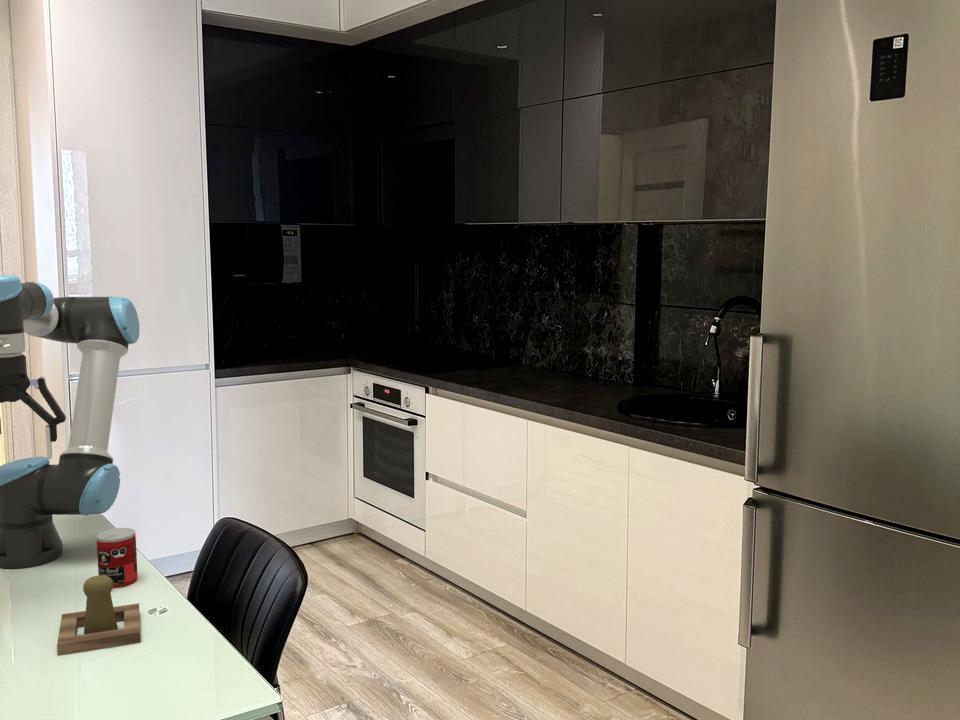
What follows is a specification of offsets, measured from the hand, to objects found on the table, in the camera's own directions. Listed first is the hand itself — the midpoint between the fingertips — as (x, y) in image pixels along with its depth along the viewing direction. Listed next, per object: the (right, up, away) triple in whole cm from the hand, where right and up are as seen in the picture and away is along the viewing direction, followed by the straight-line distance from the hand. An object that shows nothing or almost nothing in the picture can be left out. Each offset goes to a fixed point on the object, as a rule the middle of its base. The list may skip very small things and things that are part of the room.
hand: (11, 461), depth 175 cm
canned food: (+14, -29, +18) cm, 37 cm away
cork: (+21, -32, -7) cm, 39 cm away
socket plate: (+21, -32, -7) cm, 39 cm away
